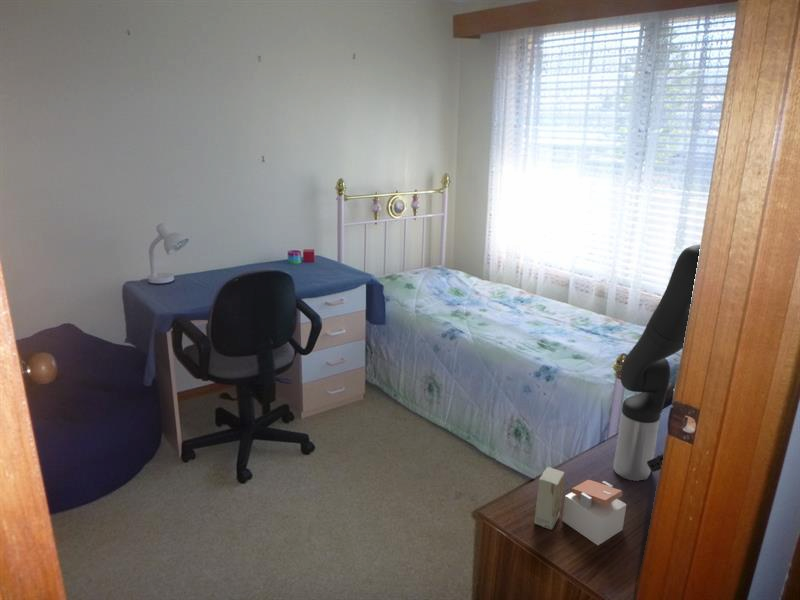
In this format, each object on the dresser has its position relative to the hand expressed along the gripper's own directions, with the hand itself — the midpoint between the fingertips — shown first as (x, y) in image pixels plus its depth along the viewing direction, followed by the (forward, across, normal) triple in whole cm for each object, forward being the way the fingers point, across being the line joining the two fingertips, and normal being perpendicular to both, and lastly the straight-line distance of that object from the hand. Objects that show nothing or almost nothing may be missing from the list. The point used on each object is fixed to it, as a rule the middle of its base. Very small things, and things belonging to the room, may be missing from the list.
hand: (663, 460), depth 119 cm
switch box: (+28, -1, +7) cm, 29 cm away
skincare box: (+33, +7, +2) cm, 34 cm away
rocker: (+22, 0, +2) cm, 23 cm away
